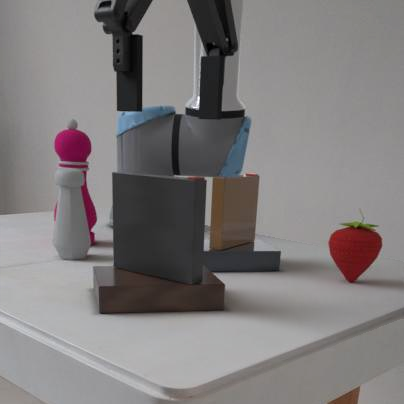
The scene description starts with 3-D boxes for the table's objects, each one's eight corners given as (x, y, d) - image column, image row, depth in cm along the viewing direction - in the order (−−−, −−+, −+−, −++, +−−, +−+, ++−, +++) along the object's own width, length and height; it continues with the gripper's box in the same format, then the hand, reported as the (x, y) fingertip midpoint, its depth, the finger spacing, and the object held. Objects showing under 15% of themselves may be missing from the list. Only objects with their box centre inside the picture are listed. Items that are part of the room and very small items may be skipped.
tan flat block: (220, 250, 82) (225, 176, 78) (209, 248, 83) (212, 175, 79) (254, 240, 90) (259, 173, 87) (243, 239, 91) (248, 173, 88)
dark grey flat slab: (113, 267, 68) (111, 169, 64) (124, 264, 70) (124, 169, 66) (191, 284, 62) (195, 177, 58) (202, 281, 63) (207, 177, 59)
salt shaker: (56, 261, 84) (52, 169, 79) (50, 254, 89) (45, 167, 84) (95, 260, 86) (93, 170, 81) (87, 252, 91) (84, 167, 86)
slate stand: (201, 271, 82) (202, 251, 81) (187, 257, 91) (187, 239, 90) (279, 271, 84) (281, 251, 83) (257, 257, 93) (259, 239, 92)
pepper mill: (88, 248, 94) (84, 118, 87) (48, 244, 96) (40, 116, 88) (103, 241, 101) (101, 120, 94) (65, 238, 102) (60, 118, 95)
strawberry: (317, 276, 82) (325, 206, 79) (366, 276, 83) (376, 207, 80) (332, 286, 77) (341, 211, 73) (383, 286, 78) (396, 212, 74)
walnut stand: (99, 313, 61) (98, 286, 60) (93, 289, 70) (92, 265, 69) (223, 310, 64) (225, 284, 63) (203, 287, 73) (204, 264, 72)
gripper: (113, -211, 41) (116, 107, 49) (278, -93, 60) (262, 122, 68) (45, -183, 45) (58, 106, 53) (220, -81, 64) (211, 121, 72)
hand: (173, 116), depth 60 cm, fingers open, 13 cm apart
